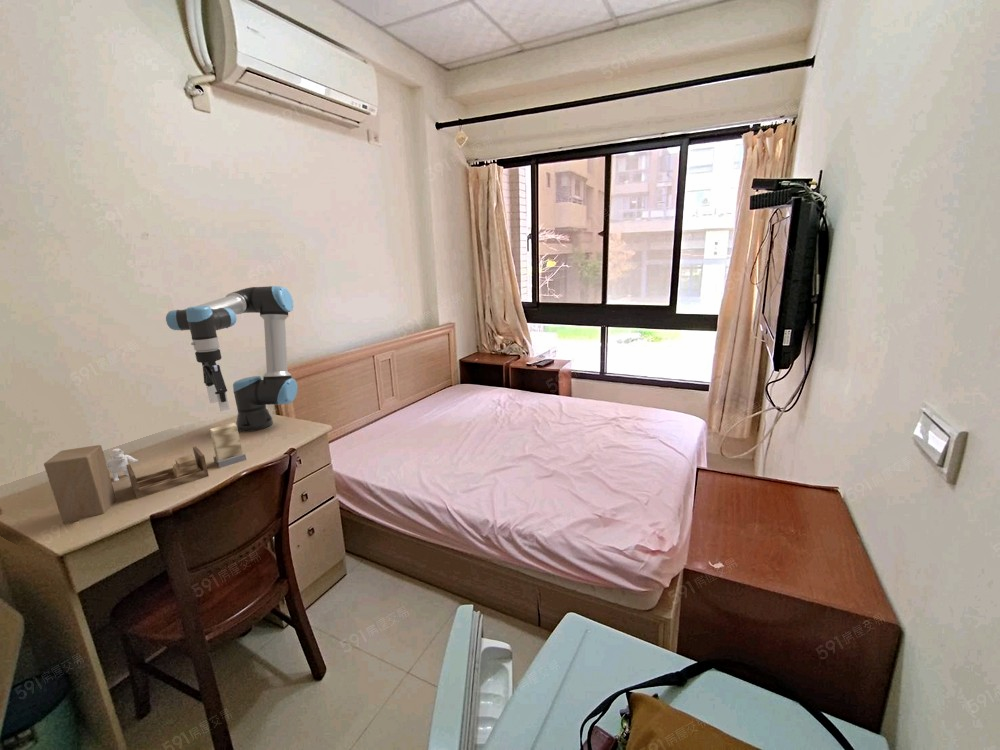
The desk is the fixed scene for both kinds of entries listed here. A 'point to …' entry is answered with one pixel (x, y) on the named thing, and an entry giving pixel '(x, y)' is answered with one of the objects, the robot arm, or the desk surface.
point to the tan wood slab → (226, 441)
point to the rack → (165, 478)
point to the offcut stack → (185, 466)
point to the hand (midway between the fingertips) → (219, 406)
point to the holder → (230, 460)
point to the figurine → (119, 463)
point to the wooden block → (80, 483)
